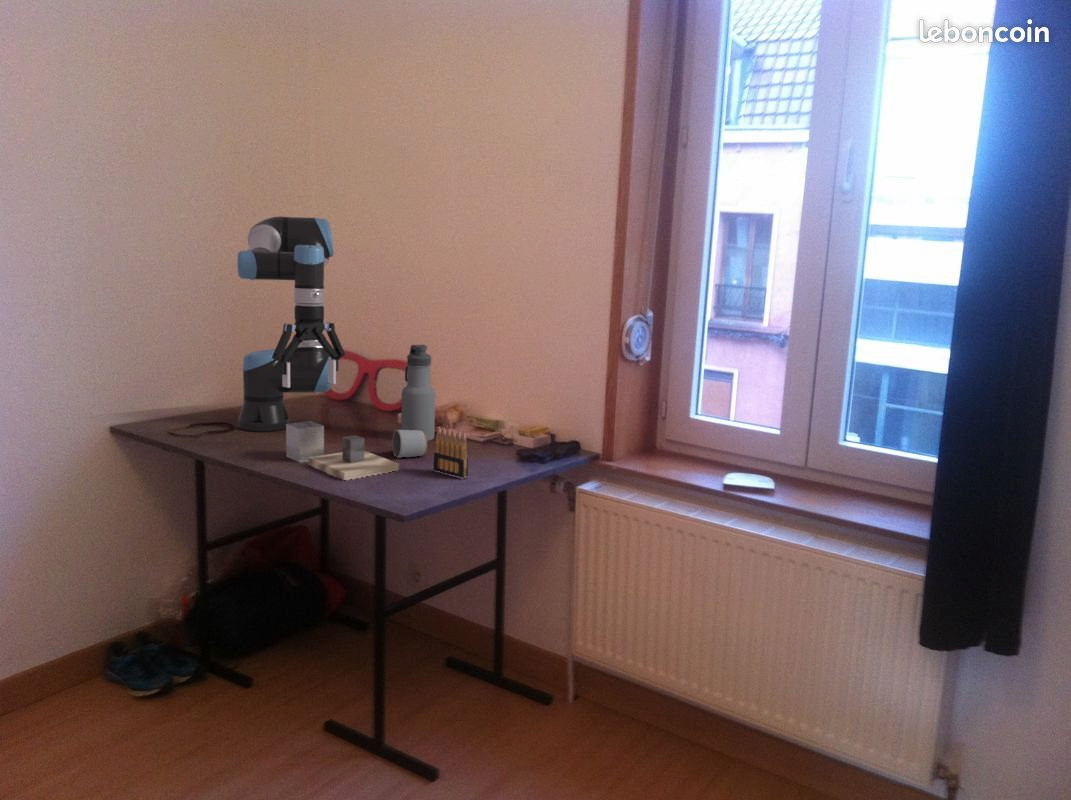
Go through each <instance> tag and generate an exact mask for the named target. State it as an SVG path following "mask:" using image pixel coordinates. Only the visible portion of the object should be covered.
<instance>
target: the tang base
mask: <svg viewBox="0 0 1071 800" xmlns="http://www.w3.org/2000/svg"><path fill="white" fill-rule="evenodd" d="M341 448H342V452H336V453H335V452H334V453H330V454H329V453H328V454H324V455H321V456H315V457H308V461H307V465H308V466H310V467H312V468H314V469H316V470H318V469H319V470H318V471H321V472H323V473H325V472H326V474H327V475H330V476H332V475H333V477H334V478H337V477H338V479H339V478H340V479H339V480H341V479H342V481H344V480H346V481H350V479H352V480H357V479H356V478H358V479H362V478H361V477H363V478H366V476H369V477H372V476H371V475H375V476H378V475H377V474H380V475H383V474H382V473H386V474H389V473H388V472H392V471H397V470H399V471H400V463H399V462H396V461H392V459H391V460H390V459H388V458H385V457H383V456H379V455H377V454H374V453H373V452H369V451H366V450H365V438H364V437H361V436H359V435H351V436H350V435H349V436H343V437H342V447H341ZM397 472H398V471H397ZM392 473H393V472H392Z"/></svg>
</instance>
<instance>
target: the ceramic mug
mask: <svg viewBox="0 0 1071 800" xmlns="http://www.w3.org/2000/svg"><path fill="white" fill-rule="evenodd" d="M391 443H392V446H391V448H392V453H393V455H394V457H395V456H396V457H397V458H396V457H395V458H396V459H403V458H402V457H406V458H415V457H417V456H419V457H422V456H425V454H426V453H427V449H428V441H427V437H426V434H425V433H424V432H423V431H419V430H401V429H395V431H393V434H392V440H391Z"/></svg>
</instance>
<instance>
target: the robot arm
mask: <svg viewBox="0 0 1071 800" xmlns="http://www.w3.org/2000/svg"><path fill="white" fill-rule="evenodd" d="M247 245H248V246H249V247H248V249H247V250H240V251H238V253H237V261H236V262H237V263H236V264H237V276H238V277H239V278H240V279H242V280H250V281H254V280H265V281H266V280H267V281H273V280H274V281H294V298H293V299H294V301H293V302H294V303H295V306H294V322H295V323H294V324H291V323H284V324H283V325H282V326H283V327H282V328H283V329H282V334H281V335H280V338H279V340H278V343H277V345H276V347H275V348H272V349H271V348H269V349H262V350H255V351H250V352H249V353H247V354H245V355H244V357H243V360H242V369H241V370H242V373H243V381H242V383H243V385H242V386H243V403H242V406H241V409H240V412H239V415H238V418H237V428H238V429H241V430H244V431H249V432H274V431H281V430H286V424H290V417H289V413H288V410H287V408H286V404H285V401H284V394H285V393H287V394H289V393H294V394H295V393H299V394H300V393H302V394H303V393H310V394H311V393H313V394H316V393H327V392H328V391H329V390H331V385H336V384H337V372H338V371H339V360H341V358H343V357H345V356H346V352H345V350H344V348H343V346H342V344H341V341H340V339H339V336H338V335H337V334H338V333H337V332H336V327H335V323H334V322H329V321H328V322H326V323H325V267H326V266H327V265H328V264H329V263H330V258H332V257H334V242H333V235H332V229H331V225H330V222H329V221H328V219H325V218H318V217H299V216H297V217H295V216H273V217H269V218H266V219H263V220H261V221H258V223H255V224H254V225H253V226H252V227H251V228H250V230H249V232H248V235H247ZM294 331H295V334H294V335H293V337H292V339H291V336H292V333H293V332H294ZM325 332H326V334H327V336H328V338H329V341H330V342H329V341H328V339H327V337H326V335H325ZM290 339H291V341H290ZM330 343H331V344H330Z"/></svg>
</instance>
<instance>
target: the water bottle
mask: <svg viewBox="0 0 1071 800" xmlns="http://www.w3.org/2000/svg"><path fill="white" fill-rule="evenodd" d="M427 350H428V347H427V345H425V344H411V345H410V348H409V354H407V356H406V357H407V363H406V366H405V368H404V380H405V382H406V383H407V384H406V386H405V387H403V389H402V390H401V419H400V420H401V421H400V423H401V425H400V430H419V431H423V432H424V433H425V434H426V437H427V442H430V441H432V440H434V438H435V424H436V423H435V421H436V420H435V419H436V417H435V416H436V391H435V389H434V388H433V387H432V386H431V367H432V355H431V354H428V353H427Z"/></svg>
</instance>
